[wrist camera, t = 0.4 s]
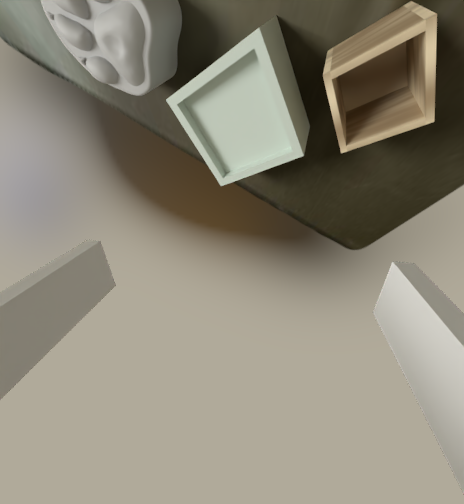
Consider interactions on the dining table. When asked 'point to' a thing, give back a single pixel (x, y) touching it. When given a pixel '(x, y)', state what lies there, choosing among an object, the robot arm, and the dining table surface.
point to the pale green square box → (245, 108)
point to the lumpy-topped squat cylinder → (120, 39)
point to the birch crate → (383, 78)
